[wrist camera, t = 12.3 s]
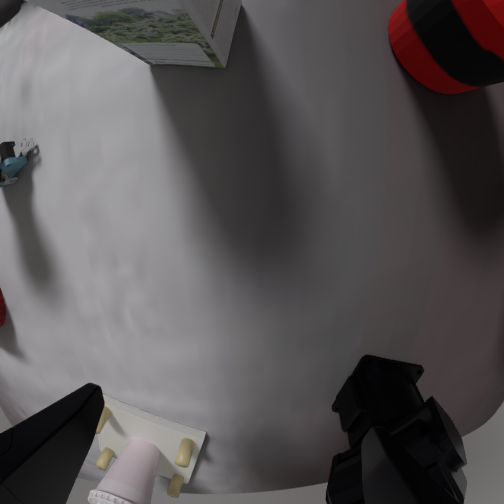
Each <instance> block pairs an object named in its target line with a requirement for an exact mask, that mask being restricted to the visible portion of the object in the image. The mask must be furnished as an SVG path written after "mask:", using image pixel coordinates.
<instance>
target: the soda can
mask: <svg viewBox="0 0 504 504" xmlns="http://www.w3.org/2000/svg"><path fill="white" fill-rule="evenodd" d="M388 32H389V39H390V42H391V46H392V48H393V50H394V52H395V54H396V56H397V58H398V59H399V61H400V62H401V64H402V65H403V66H404V68H405V69H406V70H407V71H408V72H409V73H410V74H411V75H412V76H413V77H414V78H415V79H416V80H417V81H419V82H420V83H421V84H423V85H424V86H426V87H428V88H430V89H432V90H433V91H436V92H439V93H442V94H451V95H452V94H459V93H462V92H466V91H469V90H473V89H477V88H481V87H485V86H488V85H492V84H497V83H501V82H504V0H403V1H402V2H401V3H400V5H399V6H398V7H397V8H396V9H395V11H394V12H393V13H392V15H391V17H390V19H389V25H388Z"/></svg>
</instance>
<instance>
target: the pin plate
mask: <svg viewBox="0 0 504 504" xmlns="http://www.w3.org/2000/svg"><path fill="white" fill-rule="evenodd" d="M103 397H104V402H105V405H104V409H103V412H102V415H101V418H100V421H99V424H98V427H97V430H96V434H98V439H99V446H100V451H101V452H102V453H101V455H100V457H99V459H98V461H97V463H96V466H97V467H98V468H99V469H101V470H106V469H107V467H108V465H109V463H110V461H111V459H112V457H114V458H118V456H119V455H120V453H121V452H122V451H123V449H124V448H125V446H126V445H127V443H128V442H129V441H130V439H132V438H141V439H144V440H147V441H149V442H151V443H153V444H154V445H155V446H156V447H157V448H158V449H159V451H160V456H159V460H158V465H157V470H156V474H158V475H161V476H164V477H167V478H170V479H171V482H170V486H169V489H168V492H167V494H168V495H169V496H171V497H175V498H178V497H179V493H180V490H181V486H182V483H186V484H188V482H189V480H190V477H191V474H192V471H193V469H194V466H195V463H196V460H197V458H198V455H199V452H200V449H201V446H202V444H203V441H204V438H205V434H206V432H204V431H201V430H197V429H194V428H191V427H188V426H185V425H181V424H178V423H175V422H172V421H170V420H167V419H164V418H161V417H158V416H156V415H153V414H150V413H148V412H145V411H143V410H140V409H137V408H135V407H133V406H130V405H128V404H125V403H123V402H121V401H118V400H116V399H114V398H112V397H109V396H107V395H105V394H103Z"/></svg>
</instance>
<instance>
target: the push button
mask: <svg viewBox="0 0 504 504" xmlns="http://www.w3.org/2000/svg"><path fill="white" fill-rule="evenodd" d="M22 143H24V144H23V145H22ZM29 143H31V146H30V147H29ZM33 147H34V142H33V138H31V139H30V140H29V141H28V142H27V143H26V139H25V138H24V139H23V140H22V141H21V142H20V143H19V144H18V143H17V144H16V145H15V142H14V141H12V142H3V143H1V144H0V187H2V186H4V185H7V184H12V183H14V182H15V181H16V180H17V179H18V177H15V178H12V177H13V176H14V175H15V174H16V173H17V172H18V171H19V170H20V169H21V168H22V167H23V166H24V165H25V164H26V163H27V162H28V161H27V158H26V155H27V154H28V153H27V152H28V151H29V150H30V149H31V148H33ZM12 180H13V181H12ZM10 181H11V182H10Z"/></svg>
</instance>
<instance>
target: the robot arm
mask: <svg viewBox="0 0 504 504" xmlns="http://www.w3.org/2000/svg"><path fill="white" fill-rule="evenodd" d="M367 360H369V361H368V362H365V361H367ZM417 371H418V372H417ZM423 372H424V369H423V367H422V366H421V365H417V364H411V363H406V362H401V361H396V360H391V359H386V358H381V357H376V356H372V355H365V356H363V357H362V358H361V359H360V361H359V363H358V365H357V366H356V368H355V370H354V371H353V373H352V375H351V376H349V377H348V379H347V380H346V382H345V384H344V385H343V387H342V388H341V390H340V391H339V393H338V395H337V396H336V400H335V401H334V403H333V405H332V411H333V412H336V413H339V415H340V421H341V426H342V430H343V432H346V433H347V434H348V440H349V445H350V449H349V450H347V451H345V452H343V453H339V454H337V455H335V456H333V460H332V466H331V471H330V476H329V481H328V486H327V490H326V502H327V504H464V499H465V493H466V487H467V480H466V477H465V475H464V473H463V471H462V469H461V468H462V467H463V466H465V465H466V464H467V460H466V455H465V450H464V446H463V441H462V438H461V436H460V434H459V432H458V431H457V429H456V427H455V425H454V423H453V421H452V420H451V418H450V417H449V416H448V414H447V413H446V412H445V411H444V410H443V408H442V407H441V406H440V405H439V403H438V402H437V401H436V400H435V399H434V397H433V396H431V397H430V398H429V399H427V400H426V402H424V400H423V398H422V396H421V394H420V392H419V390H418V388H417V386H416V383H417V381H418V380H419V378H420V377H421V376H422V374H423ZM104 405H105V402H104V397H103V393H102V389H101V387H100V386H99V385H96V384H93V383H87V384H86V385H84V386H82V387H81V388H79V389H77V390H76V391H74V392H72V393H71V394H69V395H67V396H65V397H64V398H62V399H60V400H59V401H57V402H55V403H53V404H52V405H50V406H48V407H47V408H45V409H43V410H41V411H40V412H38V413H36V414H34V415H33V416H31V417H29V418H27V419H26V420H24V421H22V422H20V423H19V424H17V425H15V426H14V427H11V428H9V429H8V430H6V431H4V432H2V433H0V504H66V502H67V499H68V496H69V494H70V492H71V490H72V487H73V485H74V483H75V480H76V478H77V476H78V474H79V471H80V469H81V467H82V465H83V462H84V460H85V458H86V456H87V454H88V451H89V449H90V447H91V445H92V442H93V439H94V436H95V433H96V430H97V427H98V424H99V421H100V418H101V415H102V412H103V409H104ZM336 407H337V408H336Z"/></svg>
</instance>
